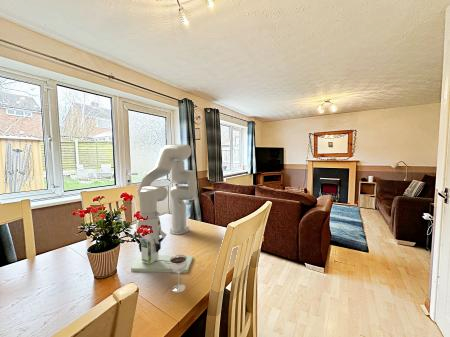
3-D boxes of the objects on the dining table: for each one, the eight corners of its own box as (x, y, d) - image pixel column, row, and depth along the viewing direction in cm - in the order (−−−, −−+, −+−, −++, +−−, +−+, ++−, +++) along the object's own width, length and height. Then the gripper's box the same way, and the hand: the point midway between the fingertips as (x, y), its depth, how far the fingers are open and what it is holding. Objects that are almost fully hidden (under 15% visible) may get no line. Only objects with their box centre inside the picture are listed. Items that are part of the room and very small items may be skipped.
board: (143, 257, 101) (143, 254, 101) (193, 258, 99) (193, 255, 99) (131, 271, 89) (131, 267, 89) (187, 272, 88) (187, 269, 87)
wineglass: (174, 296, 73) (173, 265, 72) (167, 286, 78) (166, 258, 77) (190, 289, 77) (190, 260, 76) (183, 280, 82) (182, 252, 81)
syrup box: (141, 261, 93) (139, 232, 92) (151, 255, 98) (149, 228, 97) (149, 264, 91) (148, 234, 89) (159, 258, 96) (158, 230, 95)
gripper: (169, 212, 96) (170, 247, 97) (134, 212, 97) (136, 246, 98) (163, 217, 89) (165, 255, 90) (126, 217, 89) (128, 254, 91)
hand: (150, 250), depth 94 cm, fingers closed on syrup box, 7 cm apart
